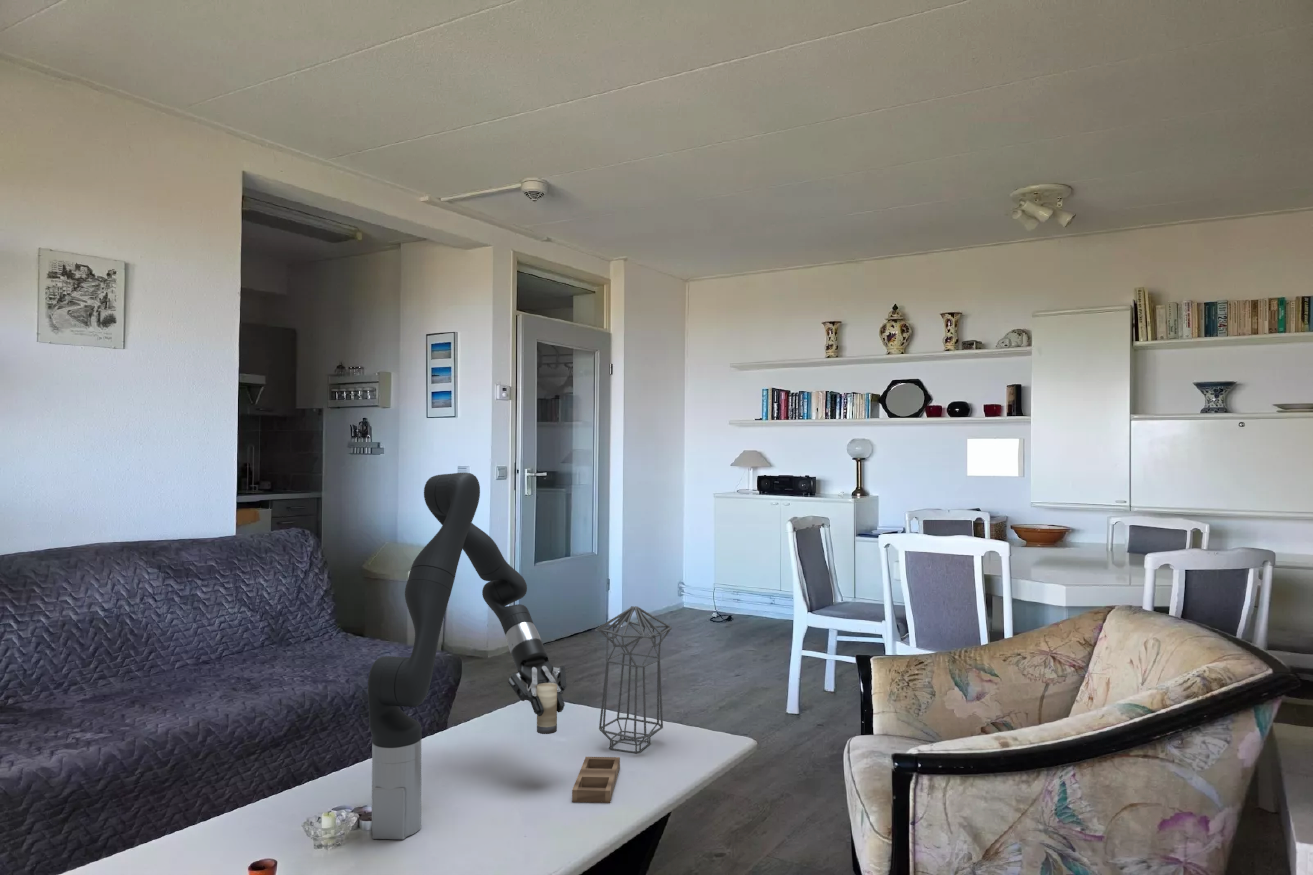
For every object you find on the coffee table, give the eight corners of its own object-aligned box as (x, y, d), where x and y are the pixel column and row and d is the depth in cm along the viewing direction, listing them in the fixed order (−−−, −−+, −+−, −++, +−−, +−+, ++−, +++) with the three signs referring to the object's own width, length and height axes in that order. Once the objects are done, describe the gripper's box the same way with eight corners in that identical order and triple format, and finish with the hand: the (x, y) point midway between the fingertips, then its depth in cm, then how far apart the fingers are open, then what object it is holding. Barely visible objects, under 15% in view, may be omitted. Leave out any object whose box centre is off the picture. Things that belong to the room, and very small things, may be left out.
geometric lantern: (618, 733, 224) (621, 599, 225) (672, 743, 217) (676, 605, 218) (587, 751, 210) (591, 608, 211) (644, 762, 203) (648, 614, 204)
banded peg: (554, 734, 186) (555, 688, 187) (535, 733, 187) (535, 687, 187) (558, 728, 191) (558, 682, 191) (538, 727, 191) (539, 682, 191)
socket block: (610, 802, 179) (610, 790, 179) (572, 802, 179) (572, 790, 179) (619, 768, 199) (619, 757, 199) (585, 767, 199) (585, 756, 199)
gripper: (503, 641, 191) (527, 708, 181) (559, 633, 200) (585, 697, 189) (492, 660, 195) (516, 727, 185) (548, 652, 204) (573, 716, 194)
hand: (551, 711), depth 187 cm, fingers closed on banded peg, 4 cm apart
